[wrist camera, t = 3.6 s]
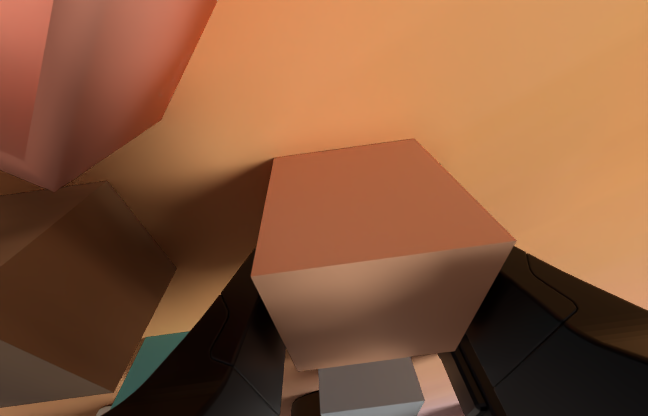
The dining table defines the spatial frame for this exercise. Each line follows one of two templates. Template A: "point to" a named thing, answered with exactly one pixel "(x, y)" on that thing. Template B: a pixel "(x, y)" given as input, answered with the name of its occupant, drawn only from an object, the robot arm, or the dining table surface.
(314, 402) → the olive oil
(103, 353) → the walnut block
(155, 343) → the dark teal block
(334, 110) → the dining table surface
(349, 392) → the slate grey block
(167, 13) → the pottery
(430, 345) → the terracotta block
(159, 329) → the dining table surface
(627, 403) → the robot arm
